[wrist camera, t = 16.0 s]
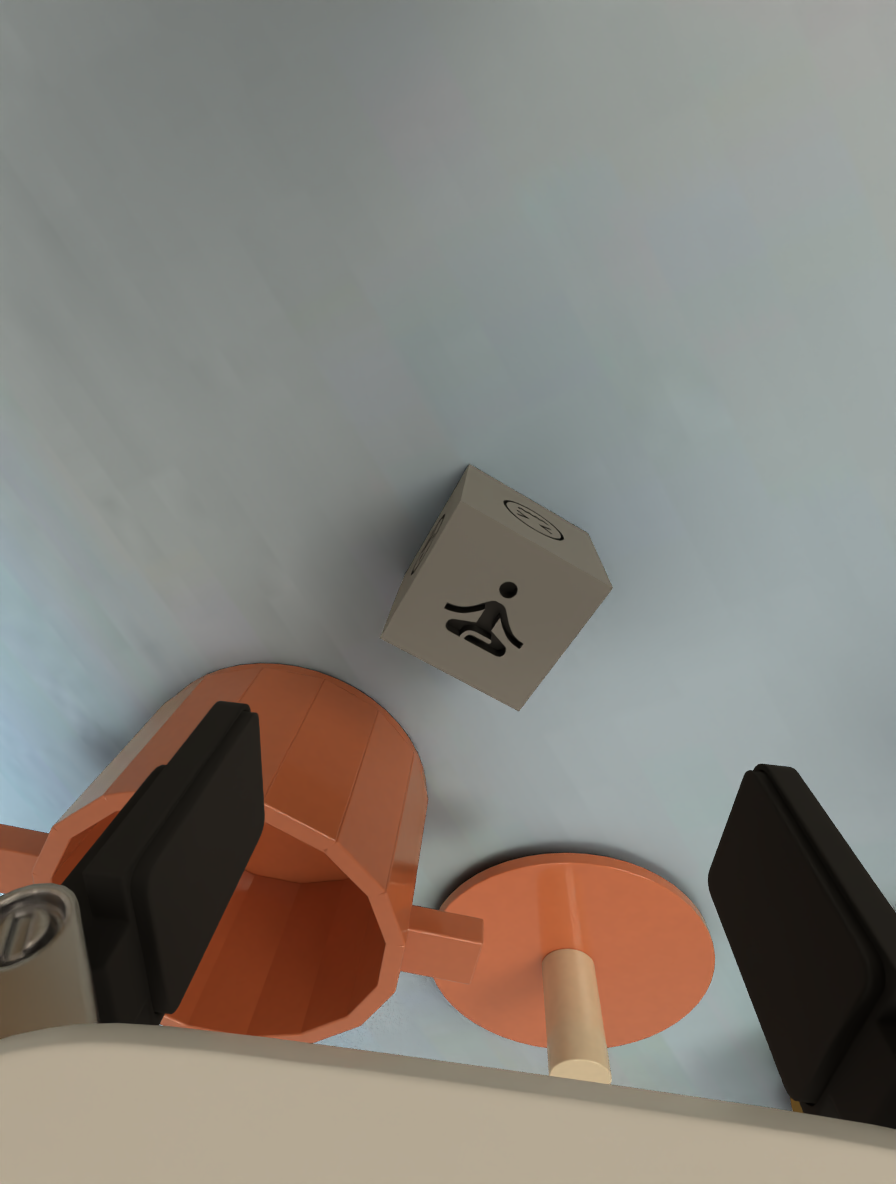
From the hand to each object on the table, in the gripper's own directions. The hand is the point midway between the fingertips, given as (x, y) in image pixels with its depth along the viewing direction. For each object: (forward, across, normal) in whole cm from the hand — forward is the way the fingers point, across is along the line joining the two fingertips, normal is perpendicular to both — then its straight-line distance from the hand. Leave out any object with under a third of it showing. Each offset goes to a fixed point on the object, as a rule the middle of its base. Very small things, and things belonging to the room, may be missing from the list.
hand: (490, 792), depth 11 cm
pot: (+12, +8, +12) cm, 19 cm away
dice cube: (+12, 0, -1) cm, 12 cm away
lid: (+11, -6, +20) cm, 24 cm away
